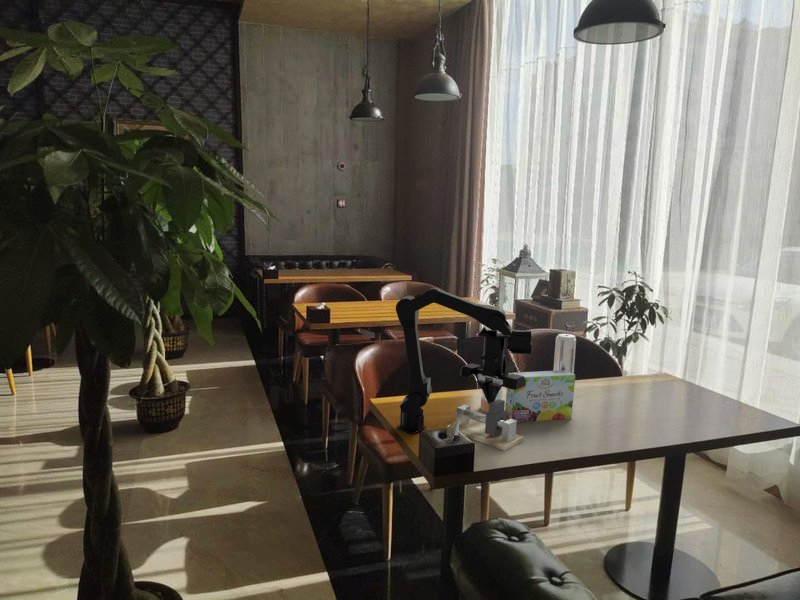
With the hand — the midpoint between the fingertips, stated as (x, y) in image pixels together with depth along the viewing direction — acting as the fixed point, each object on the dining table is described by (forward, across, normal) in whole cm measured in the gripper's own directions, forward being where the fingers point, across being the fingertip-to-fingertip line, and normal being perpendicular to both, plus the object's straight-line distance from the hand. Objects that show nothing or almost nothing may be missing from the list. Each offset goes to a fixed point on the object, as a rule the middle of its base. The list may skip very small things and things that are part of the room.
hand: (490, 404), depth 162 cm
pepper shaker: (+10, +12, -20) cm, 25 cm away
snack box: (+10, -3, -24) cm, 26 cm away
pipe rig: (+8, +2, 0) cm, 9 cm away
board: (+10, +2, 0) cm, 10 cm away
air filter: (+10, -3, -39) cm, 40 cm away
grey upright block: (+8, -2, 0) cm, 8 cm away
